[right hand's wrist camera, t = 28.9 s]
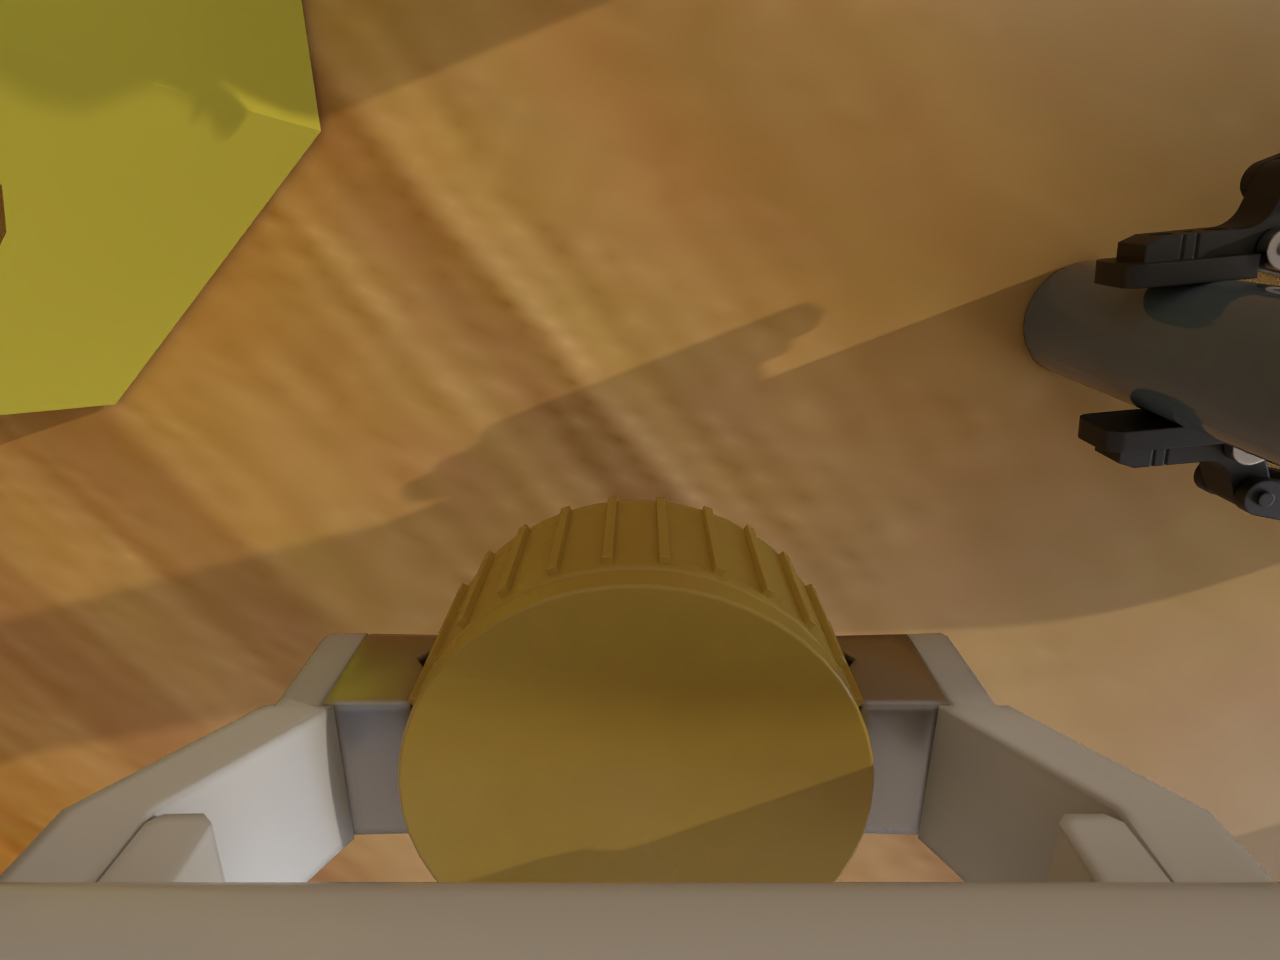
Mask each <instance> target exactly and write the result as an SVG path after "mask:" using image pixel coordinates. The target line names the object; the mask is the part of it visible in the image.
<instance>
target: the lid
mask: <svg viewBox="0 0 1280 960" xmlns="http://www.w3.org/2000/svg"><path fill="white" fill-rule="evenodd" d="M408 704H410V705H413V707H412V709H411V712H410V715H409V718H408V720H407V723H406V726H405V729H404V731H403V735H402V741H401V746H400V751H399V757H398V790H399V797H400V804H401V810H402V814H403V817H404V820H405V823H406V827H407V830H408V833H409V836H410V838H411V840H412V842H413V844H414V846H415V848H416V850H417V852H418V854H419V856H420V858H421V859H422V861H423V862H424V864H425V865H426V867H427V868H428V870H429V871H430V873H431V874H432V876H433V877H434V879H435V880H436V881H437V882H835V881H836V880H837V879H838V878H839V877H840V875H841V874H842V872H843V871H844V869H845V867H846V866H847V864H848V863H849V861H850V860H851V858H852V857H853V855H854V853H855V851H856V849H857V846H858V844H859V842H860V840H861V838H862V835H863V833H864V830H865V827H866V823H867V820H868V816H869V813H870V809H871V804H872V795H873V787H874V767H873V753H872V749H871V744H870V739H869V735H868V730H867V728H866V725H865V723H864V720H863V717H862V715H861V712H860V710H859V706H862V704H864V701H863V698H862V696H861V693H860V691H859V689H858V686H857V684H856V682H855V679H854V677H853V675H852V673H851V670H850V668H849V666H848V663H847V661H846V659H845V657H844V654H843V652H842V650H841V647H840V645H839V643H838V640H837V638H836V636H835V634H834V631H833V629H832V627H831V624H830V622H829V621H828V619H827V617H826V614H825V612H824V610H823V608H822V605H821V603H820V601H819V598H818V596H817V594H816V591H815V589H814V588H813V586H812V584H809V585H808V586H806V587H805V585H804V583H803V582H802V580H801V579H800V578H799V577H798V575H797V574H796V573H795V570H794V568H793V566H792V563H791V561H790V558H789V556H788V555H787V554H786V553H785V552H784V551H783V552H782V553H781V554H778V553H776V552H775V551H774V550H773V549H772V548H771V547H770V546H769V545H767V544H766V543H765V542H763V541H762V540H760V539H759V538H758V537H757V536H756V533H755V530H754V528H752V527H750V526H749V525H746V527H745V528H742V527H740V526H738V525H736V524H734V523H732V522H730V521H729V520H727V519H724V518H721V517H719V516H716V515H714V514H713V511H712V508H709V507H706V506H704V507H703V510H700V509H695V508H691V507H687V506H683V505H679V504H674V503H666V500H665V498H663V497H656V501H617V497H609V498H608V503H600V504H593V505H589V506H586V507H582V508H578V509H574V510H571V508H570V506H567V507H564V508H562V509H561V512H560V514H559V515H557V516H554V517H552V518H549V519H547V520H544V521H542V522H540V523H539V524H537V525H535V526H533V527H531V528H529V527H528V526H527V525H524V526H522V527H521V528H520V529H519V531H518V534H517V537H515V538H514V539H513V540H511V541H510V542H509V543H507V544H506V545H505V546H503V547H502V548H501V549H500V550H499V551H498V552H497V553H496V554H494V553H492V552H491V551H489V552H488V553H487V554H486V555H485V557H484V559H483V561H482V564H481V566H480V568H479V571H478V573H477V575H476V576H475V577H474V578H473V580H472V581H471V582H470V584H469V585H468V586H467V585H465V584H464V583H463V584H462V585H461V587H460V588H459V590H458V592H457V594H456V597H455V599H454V601H453V603H452V605H451V607H450V610H449V612H448V614H447V616H446V618H445V621H444V623H443V625H442V627H441V629H440V631H439V634H438V636H437V638H436V640H435V642H434V644H433V647H432V649H431V651H430V653H429V655H428V658H427V660H426V662H425V665H424V667H423V669H422V671H421V673H420V675H419V678H418V680H417V682H416V684H415V686H414V689H413V691H412V693H411V695H410V698H409V701H408Z"/></svg>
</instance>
